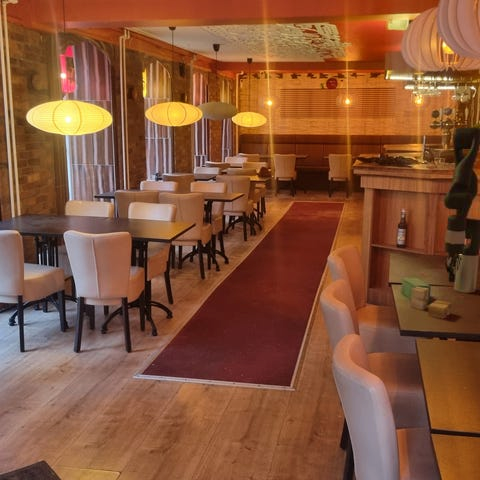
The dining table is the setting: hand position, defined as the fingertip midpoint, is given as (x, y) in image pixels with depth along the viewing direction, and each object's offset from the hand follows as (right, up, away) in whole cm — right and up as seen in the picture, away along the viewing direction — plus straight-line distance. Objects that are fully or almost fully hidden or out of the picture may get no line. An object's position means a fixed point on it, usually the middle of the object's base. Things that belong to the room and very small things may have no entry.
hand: (451, 281), depth 251 cm
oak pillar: (-4, -10, -3) cm, 11 cm away
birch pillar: (-13, -11, +3) cm, 17 cm away
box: (-10, -8, +17) cm, 21 cm away
